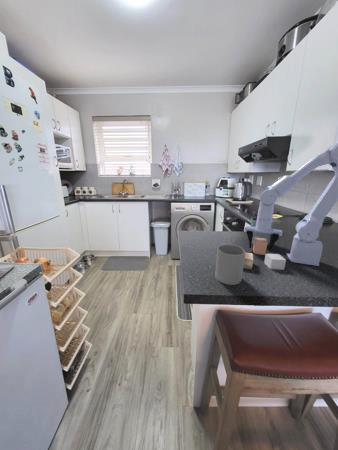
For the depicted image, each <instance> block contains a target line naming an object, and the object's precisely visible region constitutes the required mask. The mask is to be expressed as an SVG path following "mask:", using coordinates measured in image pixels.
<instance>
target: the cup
mask: <svg viewBox="0 0 338 450" xmlns="http://www.w3.org/2000/svg"><path fill="white" fill-rule="evenodd" d="M216 252H217V253H216V260H215V261H216V263H215V273H214V278H215V279H216V280H217V281H218V282H220V283H221V284H225V285H228V286H232V285H233V286H234V285H236V286H237V285H239V284H240V283H241V282H242V278H243V271H244V268H243V266H244V259H245V252H246V250H245V249H244V248H242V247H240V246H238V245H232V244H222V245H221V244H220V245H219V246H217V251H216Z"/></svg>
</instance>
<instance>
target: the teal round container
mask: <svg viewBox="0 0 338 450" xmlns="http://www.w3.org/2000/svg"><path fill="white" fill-rule="evenodd" d="M256 222H257V217H251V218H250V227H256ZM274 222H275V221H274V220H273V219H272V223H271V229H273V226H274ZM255 237H257V238H265V239H266V240H267V246H269V242H270V234H265V233H256V232H253V238H252V245H254V240H255Z"/></svg>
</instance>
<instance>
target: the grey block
mask: <svg viewBox="0 0 338 450" xmlns="http://www.w3.org/2000/svg"><path fill="white" fill-rule="evenodd" d="M263 263H264V264H265V265H266V266H267V268H268V269H270V270H280V271H281V270H282V271H283V270H284V271H285V267H286V263H287V259H285V258H284V256H282V255H281V254H279V253H266V254H265V255H264V261H263Z"/></svg>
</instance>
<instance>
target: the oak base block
mask: <svg viewBox="0 0 338 450" xmlns="http://www.w3.org/2000/svg"><path fill="white" fill-rule="evenodd" d="M253 265H254V253H250V252H246V251H245V259H244V266H243V269H246V270H253Z"/></svg>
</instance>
